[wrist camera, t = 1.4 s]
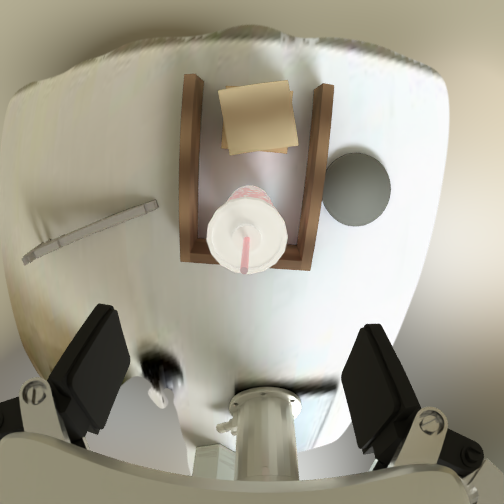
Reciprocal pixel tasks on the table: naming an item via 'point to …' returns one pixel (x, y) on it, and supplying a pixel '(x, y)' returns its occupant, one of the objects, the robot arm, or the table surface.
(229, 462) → the supplement box
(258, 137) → the offcut upper
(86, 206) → the table surface
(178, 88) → the table surface
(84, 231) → the caliper
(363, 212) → the coaster
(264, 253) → the beverage cup
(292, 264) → the rack
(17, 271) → the table surface
